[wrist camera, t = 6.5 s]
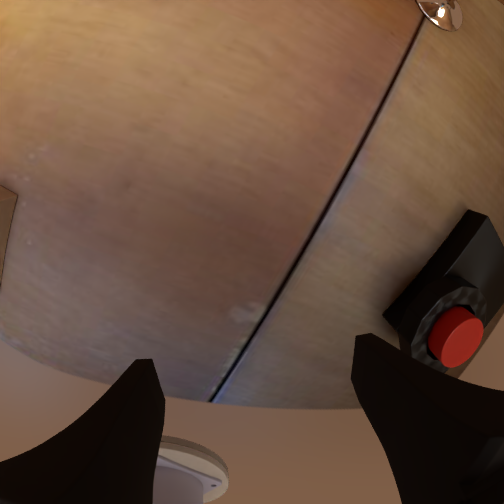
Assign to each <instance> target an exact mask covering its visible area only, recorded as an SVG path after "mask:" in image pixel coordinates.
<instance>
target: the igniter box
mask: <svg viewBox="0 0 504 504" xmlns="http://www.w3.org/2000/svg"><path fill="white" fill-rule="evenodd" d="M503 304H504V246H503V244H502V242H501V240H500V238H499V236H498V234H497V232H496V230H495V229H494V227H493V225H492V223H491V221H490V219H489V217H488V216H486V215H483V214H481V213H478V212H475V211H472V210H468V211H467V212H466V213H465V215H464V216H463V218H462V219H461V220H460V222H459V223H458V225H457V226H456V227H455V229H454V230H453V231H452V233H451V234H450V235H449V237H448V238H447V239H446V241H445V242H444V243H443V244H442V246H441V247H440V248H439V250H438V251H437V252H436V253H435V255H434V256H433V257H432V258H431V260H430V261H429V262H428V263H427V264H426V266H425V267H424V268H423V269H422V270H421V272H420V273H419V274H418V275H417V276H416V278H415V279H414V280H413V281H412V282H411V283H410V285H409V286H408V287H407V288H406V289H405V290H404V291H403V293H402V294H401V295H400V296H399V297H398V298H397V299H396V300H395V302H394V303H393V304H392V305H391V306H390V307H389V308H388V309H387V310H386V311H385V312H384V313H383V317H384V318H385V319H386V320H387V321H388V323H389V324H390V325H391V326H392V327H393V328H394V329H395V331H396V332H398V333H399V342H400V350H401V351H402V352H404V353H406V354H407V355H409V356H411V357H413V358H414V359H416V360H418V361H420V362H422V363H423V364H425V365H427V366H429V367H431V368H433V369H435V370H437V371H440V372H442V373H445V372H446V371H447V370H448V369H449V368H450V367H446V366H444V365H443V364H442V363H441V362H440V361H439V360H438V359H437V357H436V356H435V355H434V354H433V353H432V352H431V351H430V349H429V347H428V337H429V334H430V332H431V330H432V327H433V325H434V324H435V323H436V322H437V320H438V319H439V318H440V317H441V316H442V315H443V313H444V312H446V311H447V310H449V309H451V308H453V307H456V306H461V307H464V308H465V309H467V310H468V311H469V312H471V313H472V314H473V315H474V316H476V317H477V318H478V319H479V320H480V321H481V322H482V324H483V329H484V328H485V327H486V326H487V324H488V323H489V322H490V321H491V319H492V318H493V317H494V316H495V314H496V313H497V312H498V310H499V309H500V308H501V306H502V305H503Z"/></svg>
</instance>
